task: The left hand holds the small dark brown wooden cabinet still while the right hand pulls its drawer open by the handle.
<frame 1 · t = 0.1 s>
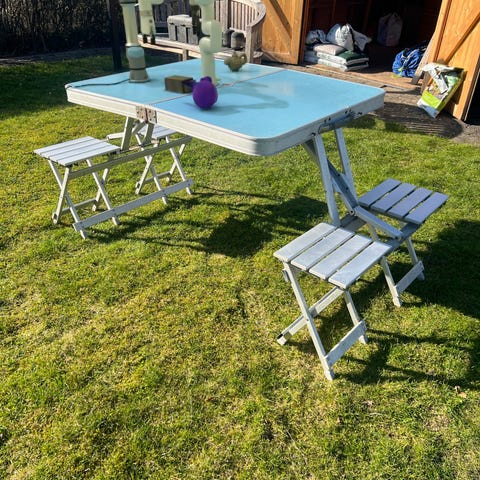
left hand: (196, 35, 349), 28 cm above the table, tool pointing down, fingers open, 13 cm apart
right hand: (149, 44, 282), 31 cm above the table, tool pointing down, fingers open, 9 cm apart
toy: (202, 106, 270), on the table
cabinet: (179, 90, 309), on the table
teapot: (235, 70, 370), on the table
drawer: (185, 85, 303), point 4 cm above the table, slide at 1.9 cm
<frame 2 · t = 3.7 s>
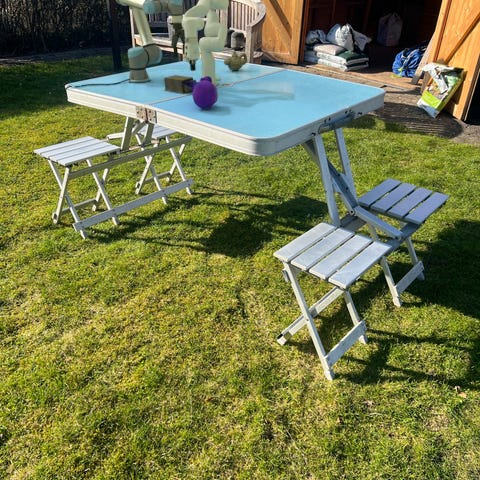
left hand: (180, 55, 317), 19 cm above the table, tool pointing down, fingers open, 13 cm apart
right hand: (193, 70, 294), 14 cm above the table, tool pointing down, fingers closed
nothing on the table moved.
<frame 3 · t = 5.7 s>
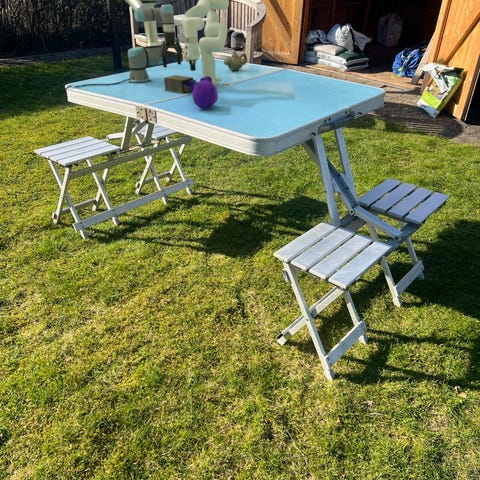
left hand: (172, 65, 304), 16 cm above the table, tool pointing down, fingers open, 13 cm apart
right hand: (193, 70, 294), 14 cm above the table, tool pointing down, fingers closed
nothing on the table moved.
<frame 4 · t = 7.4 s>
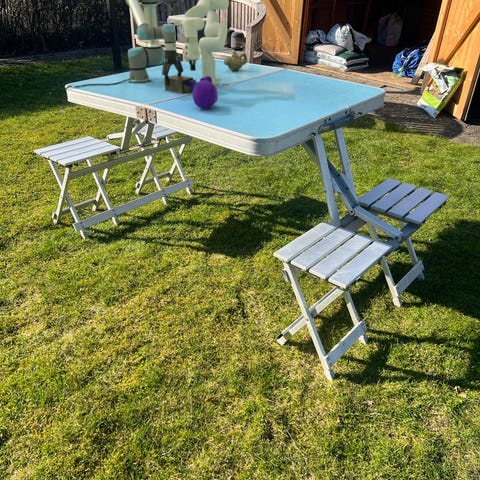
left hand: (173, 84, 310), 4 cm above the table, tool pointing down, fingers closed on cabinet, 11 cm apart
right hand: (193, 70, 294), 14 cm above the table, tool pointing down, fingers closed
cabinet: (179, 90, 309), on the table, touching left hand
everything else where it was.
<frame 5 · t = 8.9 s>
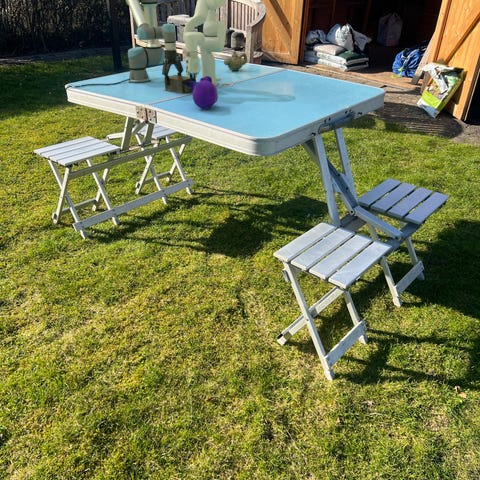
left hand: (174, 83, 309), 4 cm above the table, tool pointing down, fingers closed on cabinet, 11 cm apart
right hand: (193, 83, 298), 6 cm above the table, tool pointing down, fingers closed
cabinet: (179, 90, 309), on the table, touching left hand
drawer: (186, 85, 303), point 4 cm above the table, slide at 1.9 cm, touching right hand
everything else where it was.
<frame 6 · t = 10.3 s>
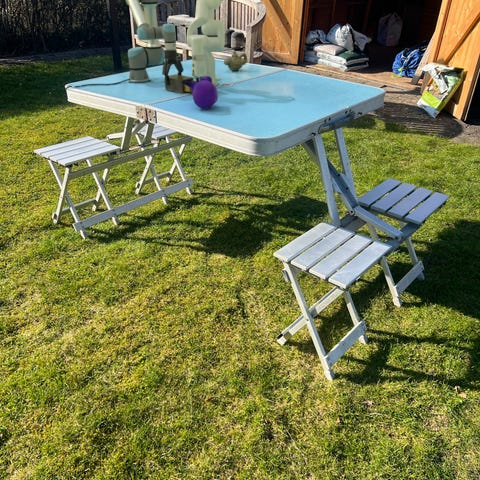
left hand: (174, 83, 309), 4 cm above the table, tool pointing down, fingers closed on cabinet, 11 cm apart
right hand: (199, 87, 297), 4 cm above the table, tool pointing down, fingers closed
cabinet: (179, 89, 309), on the table, touching left hand
drawer: (191, 86, 301), point 4 cm above the table, slide at 6.9 cm
everything else where it was.
when the left hand's fingers open (4 cm above the table, at t = 12.1 s): cabinet stays where it is, on the table.
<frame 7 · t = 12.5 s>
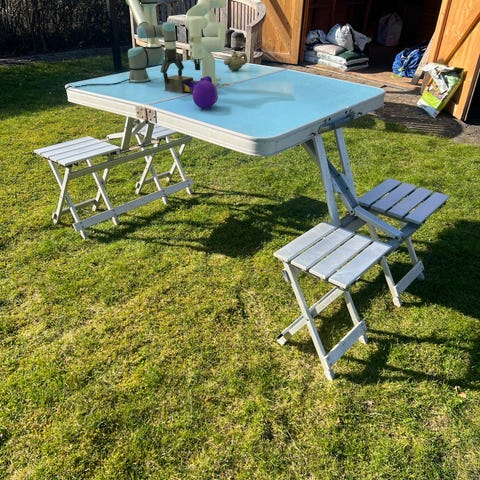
left hand: (173, 81, 309), 5 cm above the table, tool pointing down, fingers open, 13 cm apart
right hand: (197, 70, 292), 15 cm above the table, tool pointing down, fingers closed
cabinet: (179, 90, 309), on the table
everything else where it was.
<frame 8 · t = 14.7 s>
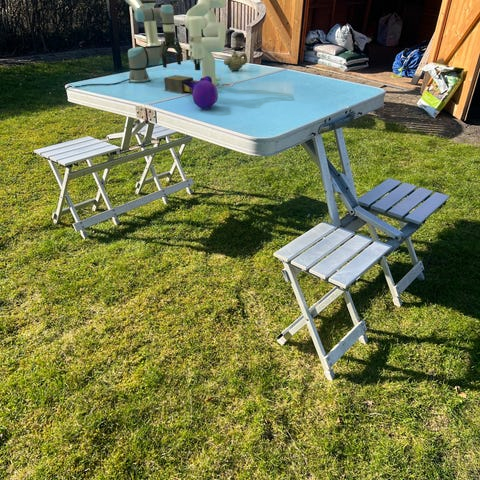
left hand: (172, 66, 304), 16 cm above the table, tool pointing down, fingers open, 13 cm apart
right hand: (197, 70, 292), 15 cm above the table, tool pointing down, fingers closed
nothing on the table moved.
at the end: drawer slide at 6.8 cm; cabinet tilted 0°; cabinet never tilted more than 4° during the clip; cabinet moved 0.1 cm from its start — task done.
